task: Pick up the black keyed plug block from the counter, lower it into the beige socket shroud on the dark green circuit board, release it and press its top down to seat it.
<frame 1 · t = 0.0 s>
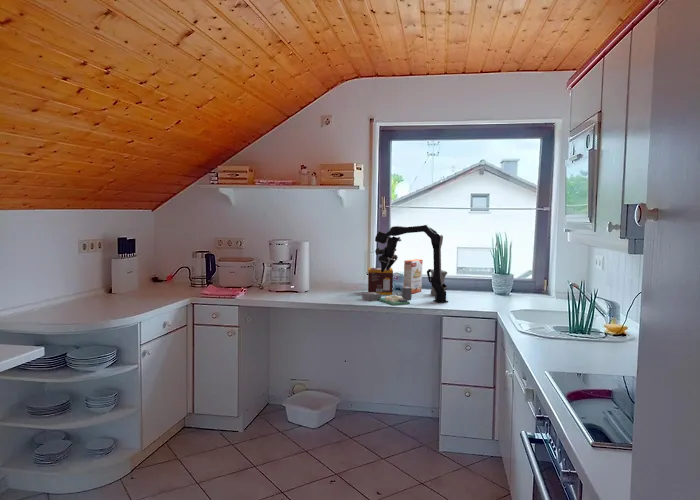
hand: (384, 271, 304), 15 cm above the table, tool pointing down, fingers open, 9 cm apart
cracker box: (412, 292, 321), on the table
board: (393, 302, 288), on the table
plug: (406, 299, 297), on the table
fan: (371, 299, 296), on the table
coffeepot: (436, 295, 314), on the table
supplement box: (380, 293, 316), on the table
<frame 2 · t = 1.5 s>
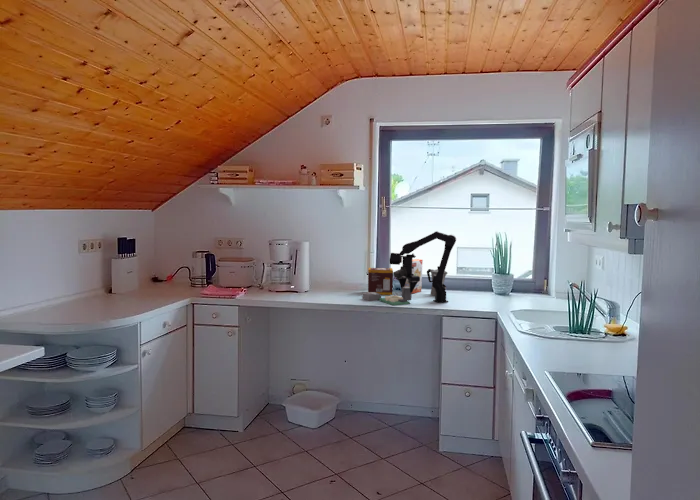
hand: (406, 291, 296), 5 cm above the table, tool pointing down, fingers open, 9 cm apart
nothing on the table moved.
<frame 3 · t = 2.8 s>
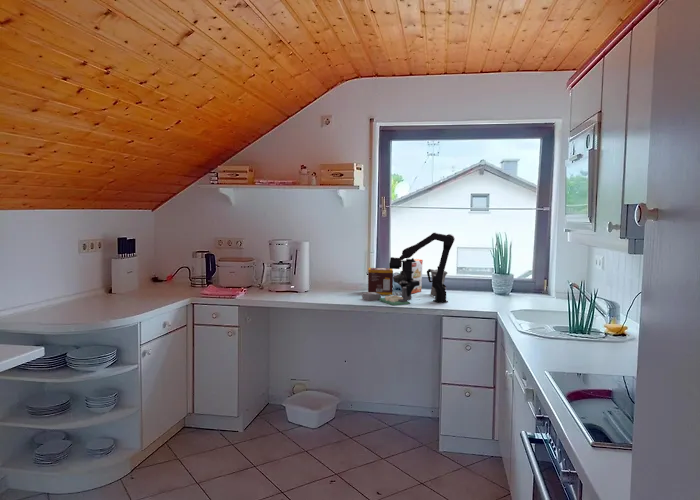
hand: (406, 295, 297), 2 cm above the table, tool pointing down, fingers closed on plug, 4 cm apart
plug: (406, 299, 297), on the table, touching gripper
everything else where it was.
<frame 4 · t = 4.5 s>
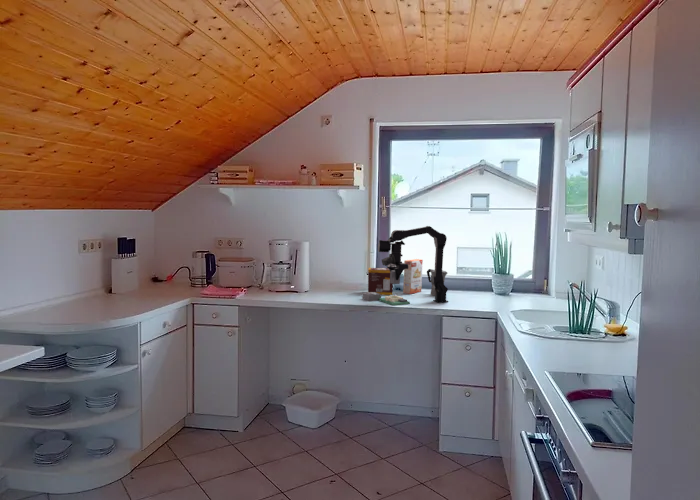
hand: (395, 279, 288), 13 cm above the table, tool pointing down, fingers closed on plug, 4 cm apart
plug: (394, 283, 288), point 11 cm above the table, touching gripper
everything else where it was.
when the fingers open (4 cm above the table, at t = 6.0 s): plug stays where it is, resting on board.
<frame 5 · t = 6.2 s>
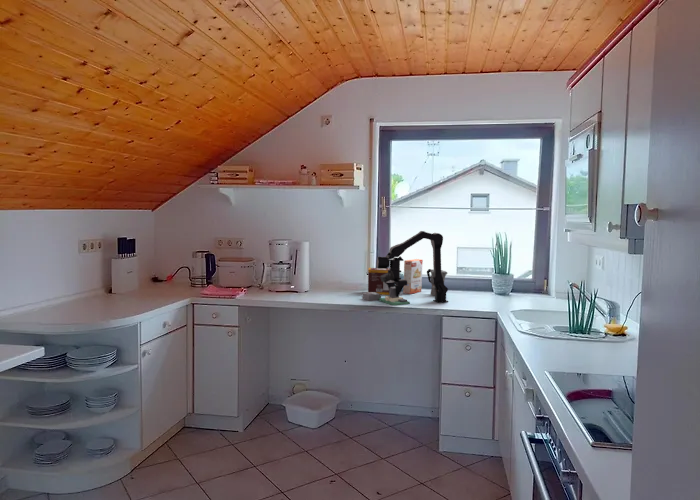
hand: (394, 295, 288), 4 cm above the table, tool pointing down, fingers open, 6 cm apart
plug: (394, 300, 288), point 1 cm above the table, touching board
everything else where it was.
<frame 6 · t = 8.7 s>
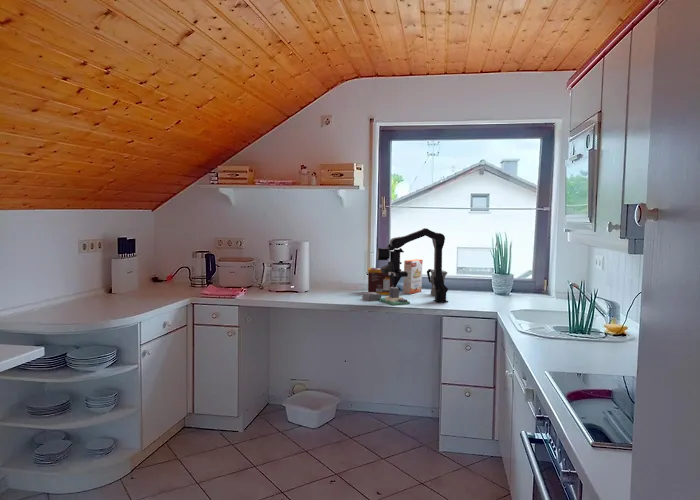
hand: (394, 287, 288), 9 cm above the table, tool pointing down, fingers closed, pressing on plug
plug: (394, 300, 288), point 1 cm above the table, touching board, gripper
everything else where it was.
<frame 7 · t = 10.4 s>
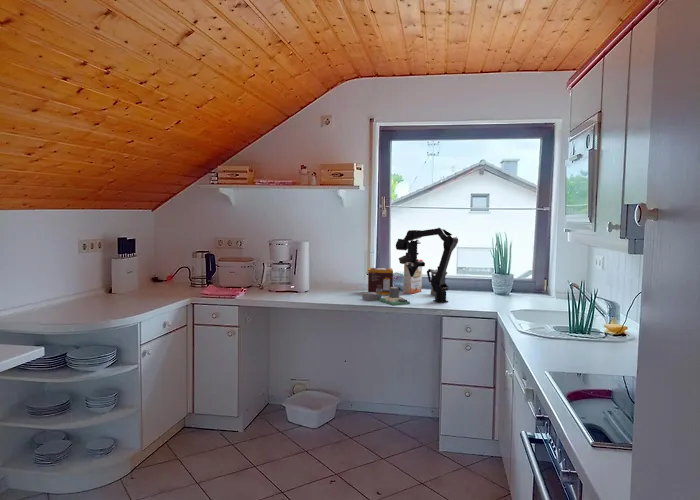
hand: (411, 276, 303), 12 cm above the table, tool pointing down, fingers closed
plug: (394, 300, 288), point 1 cm above the table, touching board
everything else where it was.
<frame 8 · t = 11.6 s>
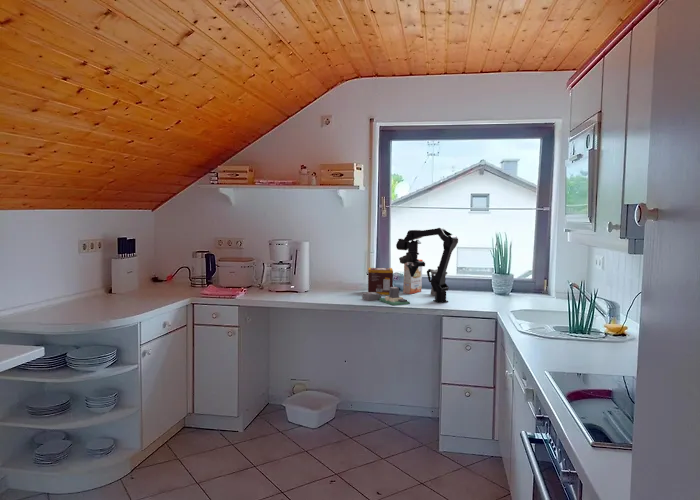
hand: (412, 276, 303), 13 cm above the table, tool pointing down, fingers closed
nothing on the table moved.
at the end: plug 0.0 cm off-centre on the board, point 1.2 cm above the board's base; plug tilted 0°; the gripper is holding nothing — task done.
